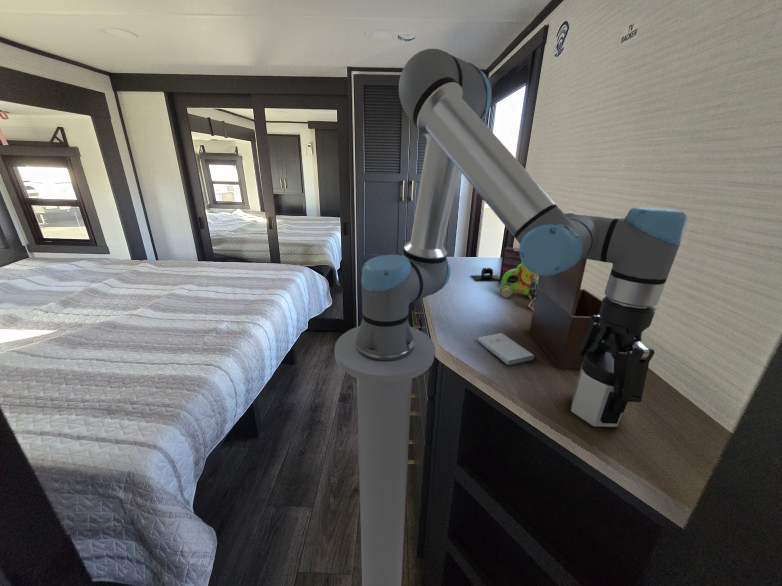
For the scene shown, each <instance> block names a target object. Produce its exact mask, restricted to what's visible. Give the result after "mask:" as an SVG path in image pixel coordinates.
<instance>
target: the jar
mask: <svg viewBox="0 0 782 586" xmlns="http://www.w3.org/2000/svg"><path fill="white" fill-rule="evenodd" d="M615 376H616V374H615V373H614V358H613V357H612V356H611V353H608V352H606V353H595V352H592V351H590V352H588V353H586V354H585V356H584V360H583V362H582V365H581V369H579V372H578V376H577V379H576V383H575V386H574V389H573V393H572V396H571V402H570V403H571V404H570V412H571V413H573V415H575V416H577V417H579V418H580V419H582V420H583V421H584V422H586V423H587V424H589V425H591V426H592V427H604V428H605V427H606V428H617V427H618V426H619V424H620V420H621V418H622V415H623V413H621V415H620V417H619V420H618V423H617V424H610V423H602V422H601V421H600V419H601V416H602V413H603V410H604V407H605V404H606V401H607V398H608V396H609V393H610V392H614V379H615ZM621 391H623V390H621Z"/></svg>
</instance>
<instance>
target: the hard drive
mask: <svg viewBox="0 0 782 586" xmlns="http://www.w3.org/2000/svg"><path fill="white" fill-rule="evenodd" d="M477 342H479V343H480V344H481V345H482V346H484V347H485V348H486V349H487V350H488V351H490V352H491V353H492V354H493V355H494V356H496V357H497V358H498V359H500V361H502V362H503V363H504V364H505V365H507V366H513V365H517V364H521V363H525V362H531V361H533V360H534V358H535V355H534V354H533V353H531V352H530V351H529V350H527V349H526V348H525V347H523V346H521V345H520V344H518V343H517V342H516V341H514V340H512V339H511V338H510V337H508V336H507V335H505V334H504V333H502V332H500V333H495V334H488V335H482V336H479V337H478V340H477Z"/></svg>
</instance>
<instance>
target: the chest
mask: <svg viewBox="0 0 782 586" xmlns="http://www.w3.org/2000/svg"><path fill="white" fill-rule="evenodd" d="M602 300H603V299H601V298H599V297H597V296H596V295H595V294H593V293H591V292H590V291H588V290H587V289H584V288H580V293H579V297H578V302H577V306H576V311H575V315H570V314H569V313H568V312H567V311H566V310H564V309H563V308H562V307H561V306H560V305H559V304H557V303H556V302H555V301H554V300H553V299H551V298H550V297H549V296H548V295H547V294H546V293H544V292H543V291H542V290H541V289H540V288H538V292H537V297H536V300H534V301H535V302H534V304H535V306H534V311H532V316H531V321H530V327H529V334H531V336H533V338H534V339H535V340H536V341H537V343H538V344H539V345H540V347H541V348H542V349H543V350H544V352H545V353H546V354H547V355H548V357H549V358H550V359H551V361H552V362H554V364H555V365H556V366H557V368H558V369H561V370H562V369H563V370H580V369H581V365H582V358H583V357H582V356H579V354H578V351H579V348H580V346H581V344H582V341H583V339H584V337H585V334H586V332H587V330H588V327H589V325H590V318H591V315H599V311H600V307H601V304H602ZM586 350H588V349H586ZM607 352H608V353H611V348H609V349H608V351H607Z"/></svg>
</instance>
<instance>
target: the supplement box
mask: <svg viewBox="0 0 782 586" xmlns="http://www.w3.org/2000/svg"><path fill="white" fill-rule="evenodd" d="M521 263H522V261H521V258H520V252H519V248H515V247H509V246H506V247H504V248H503V251H502V258H501V265H500V273H499V278H500V279H499V281H498V287H499V286H500V287H501V282H502V278H503V276H504V274H505V273H506V272H507V271H509V270H511V269H516V268H517V266H518V265H519V264H521ZM515 282H518V276H516V275H511V276H509V277H508V279H507V282H506V285H508V286H510V285H511V284H513V283H515Z"/></svg>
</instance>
